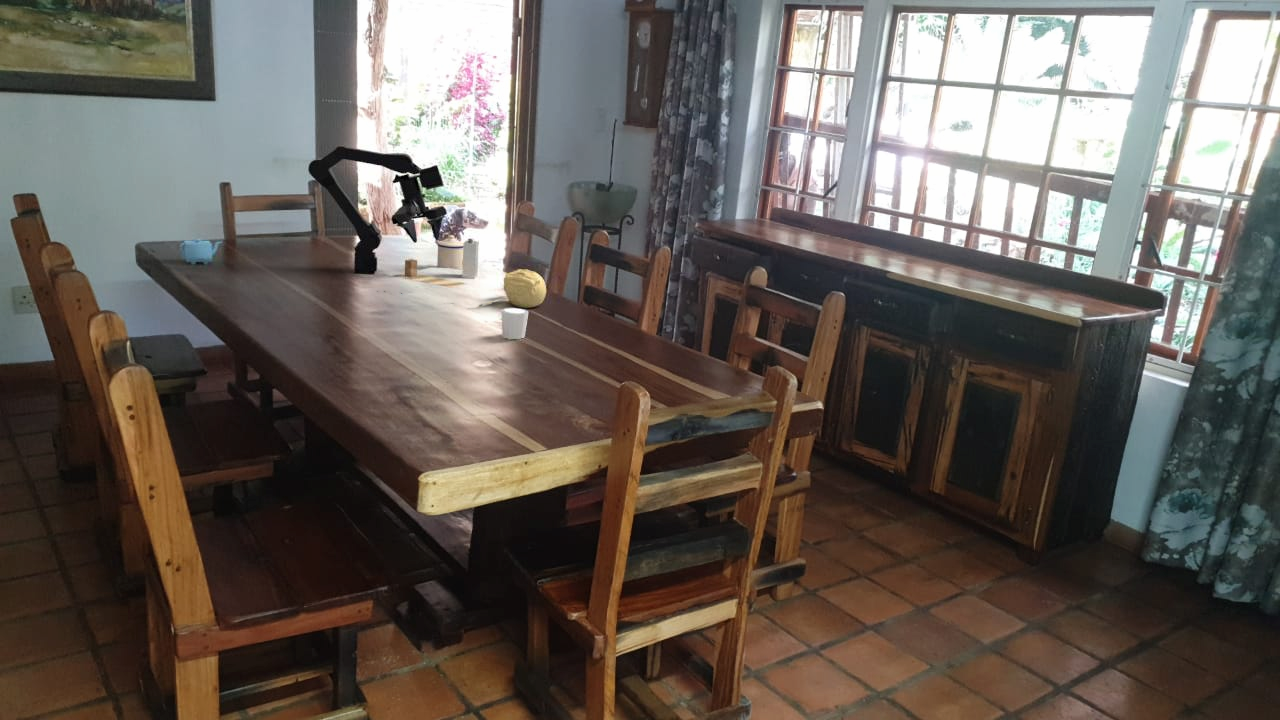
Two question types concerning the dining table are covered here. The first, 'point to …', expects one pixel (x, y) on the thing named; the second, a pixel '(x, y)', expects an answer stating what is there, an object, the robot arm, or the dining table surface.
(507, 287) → the yellow lumpy ball
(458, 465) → the dining table surface
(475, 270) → the tall grey block
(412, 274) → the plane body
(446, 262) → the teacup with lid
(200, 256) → the teapot
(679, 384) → the dining table surface
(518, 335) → the shot glass
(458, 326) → the dining table surface
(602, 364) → the dining table surface
